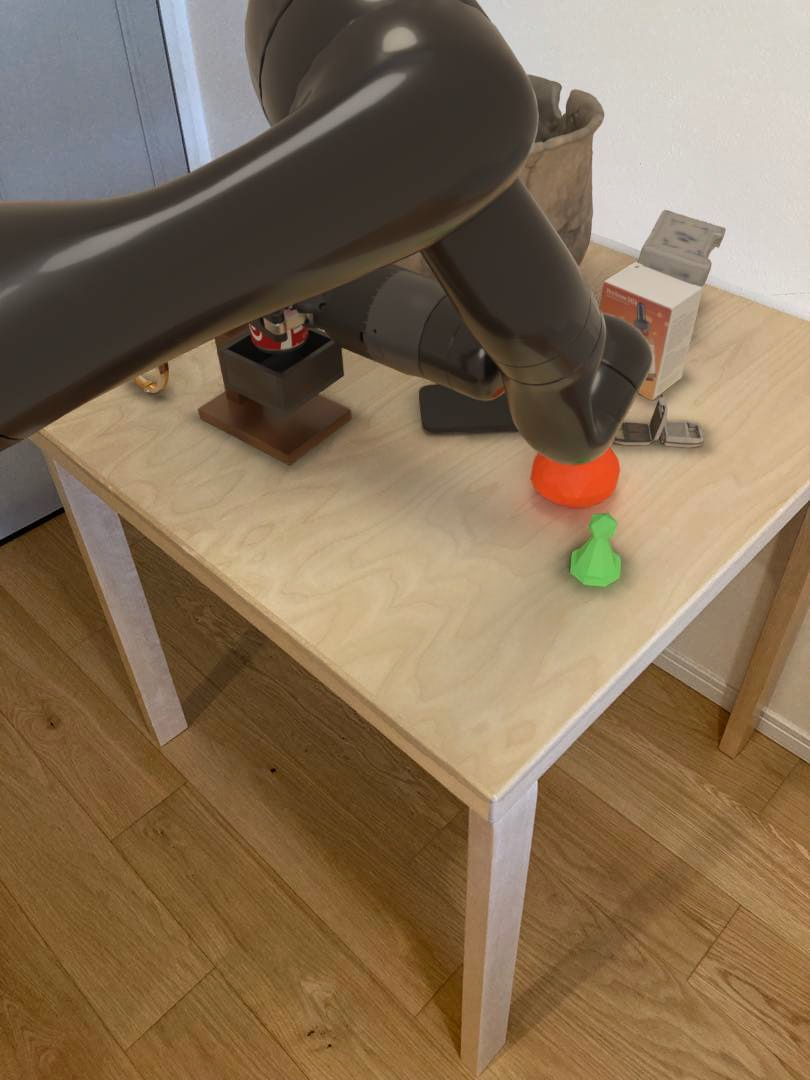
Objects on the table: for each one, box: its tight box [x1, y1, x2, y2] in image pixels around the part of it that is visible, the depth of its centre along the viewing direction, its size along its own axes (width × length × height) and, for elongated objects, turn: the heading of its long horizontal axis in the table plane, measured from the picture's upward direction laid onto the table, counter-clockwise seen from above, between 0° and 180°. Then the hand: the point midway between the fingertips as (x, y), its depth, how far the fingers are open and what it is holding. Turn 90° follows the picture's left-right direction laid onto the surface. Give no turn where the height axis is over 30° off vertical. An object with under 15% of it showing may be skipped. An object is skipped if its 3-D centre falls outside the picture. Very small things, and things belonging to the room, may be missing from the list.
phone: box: [418, 383, 518, 434], centre depth 89 cm, size 7×1×15 cm
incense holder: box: [637, 209, 727, 288], centre depth 97 cm, size 10×8×10 cm
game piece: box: [569, 512, 622, 588], centre depth 72 cm, size 4×4×6 cm
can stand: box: [197, 323, 353, 466], centre depth 86 cm, size 12×9×10 cm
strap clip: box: [612, 394, 705, 449], centre depth 84 cm, size 8×3×4 cm, turn 85°
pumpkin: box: [529, 446, 621, 509], centre depth 78 cm, size 7×8×6 cm
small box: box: [599, 261, 704, 401], centre depth 90 cm, size 8×6×10 cm
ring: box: [132, 361, 170, 394], centre depth 91 cm, size 7×3×8 cm, turn 50°
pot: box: [393, 73, 605, 280], centre depth 98 cm, size 25×24×21 cm
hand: (248, 261), depth 78 cm, fingers closed on soda can, 5 cm apart
